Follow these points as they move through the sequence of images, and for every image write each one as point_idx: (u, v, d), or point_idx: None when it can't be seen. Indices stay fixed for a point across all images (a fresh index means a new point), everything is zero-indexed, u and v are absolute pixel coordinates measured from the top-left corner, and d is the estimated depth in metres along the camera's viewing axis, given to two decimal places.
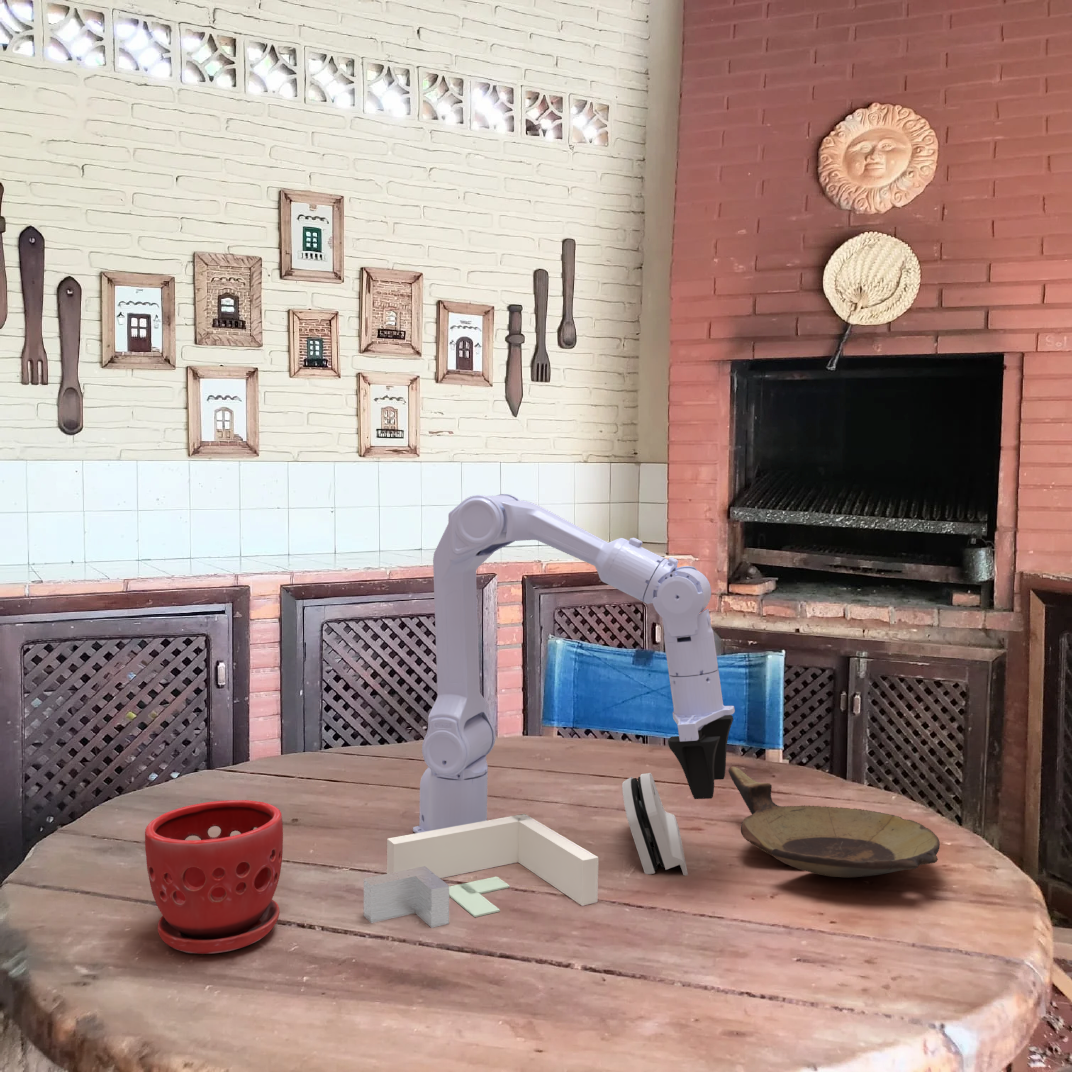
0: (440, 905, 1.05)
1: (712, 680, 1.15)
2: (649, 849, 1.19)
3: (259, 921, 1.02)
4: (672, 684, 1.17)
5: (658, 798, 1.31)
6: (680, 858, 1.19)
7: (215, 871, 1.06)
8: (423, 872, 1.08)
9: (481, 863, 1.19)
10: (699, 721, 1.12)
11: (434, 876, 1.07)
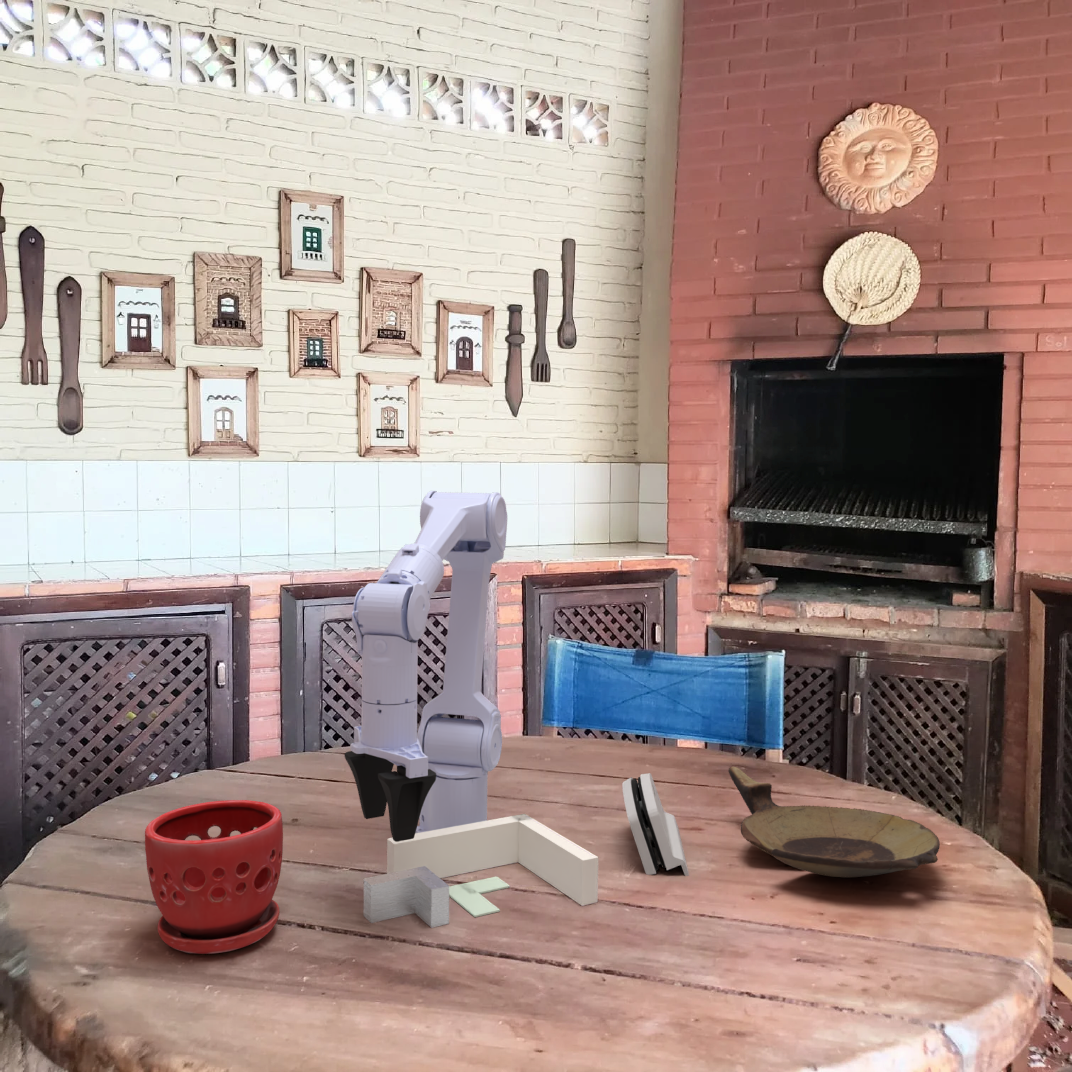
0: (440, 905, 1.05)
1: None
2: (650, 849, 1.19)
3: (259, 921, 1.02)
4: None
5: (658, 798, 1.31)
6: (681, 858, 1.19)
7: (215, 871, 1.06)
8: (423, 872, 1.08)
9: (481, 863, 1.19)
10: (357, 731, 1.10)
11: (434, 876, 1.07)
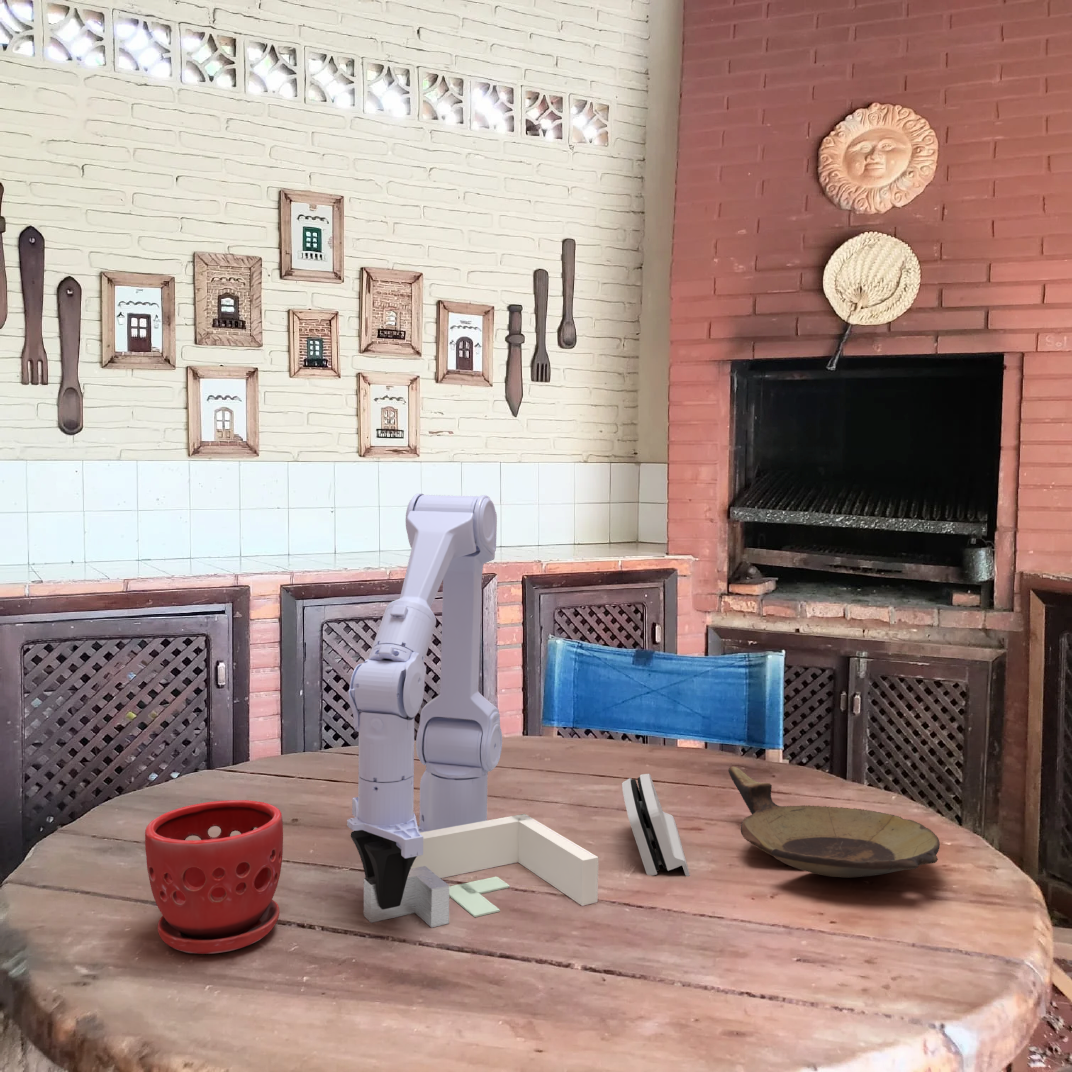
0: (440, 905, 1.05)
1: None
2: (651, 850, 1.19)
3: (259, 921, 1.02)
4: None
5: (657, 799, 1.30)
6: (682, 859, 1.19)
7: (215, 871, 1.06)
8: (423, 872, 1.08)
9: (481, 863, 1.19)
10: (355, 803, 1.11)
11: (434, 876, 1.07)
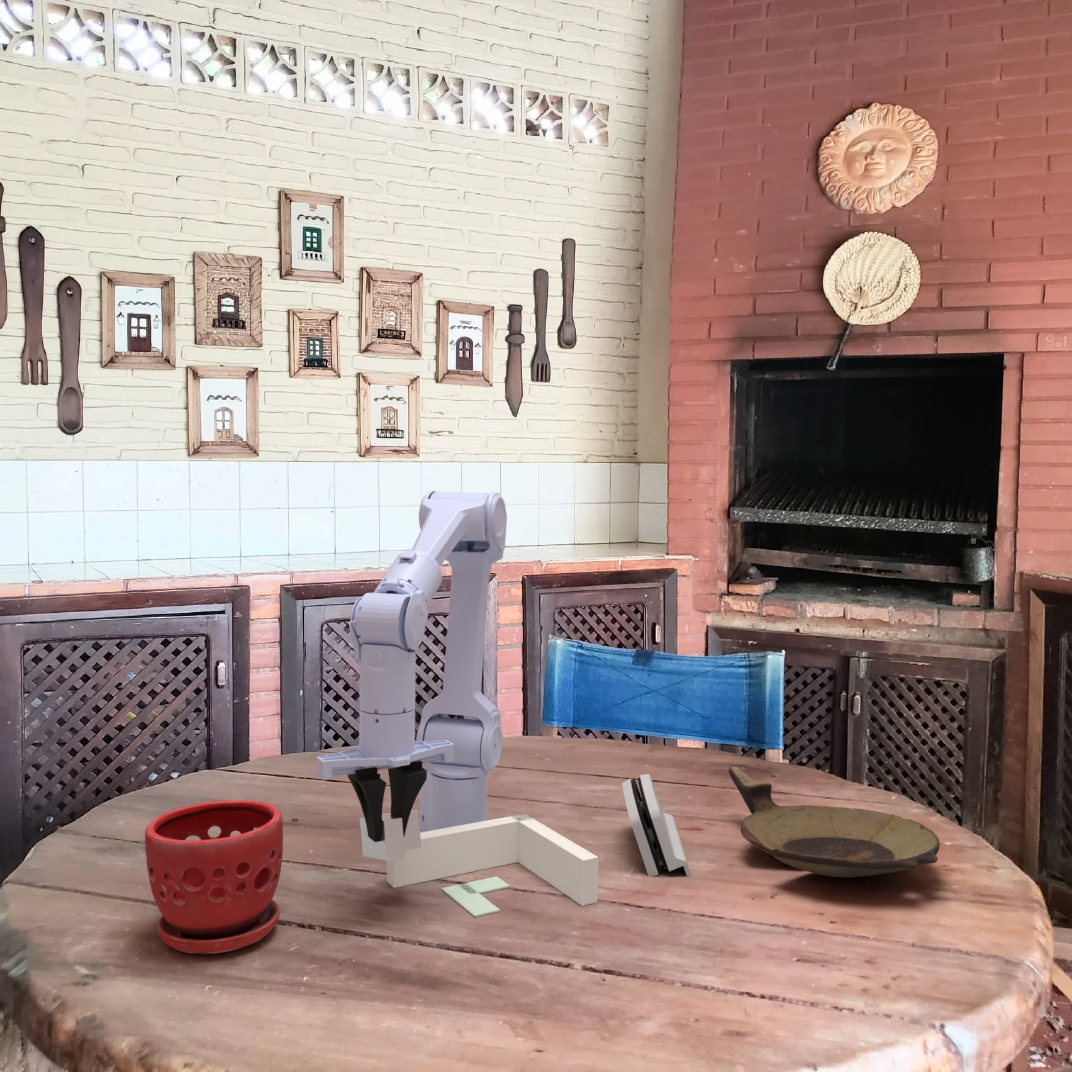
0: None
1: (381, 723, 1.03)
2: (652, 851, 1.19)
3: (259, 921, 1.02)
4: None
5: (657, 799, 1.30)
6: (683, 859, 1.19)
7: (215, 871, 1.06)
8: None
9: (481, 863, 1.19)
10: (337, 761, 1.02)
11: (386, 813, 1.12)
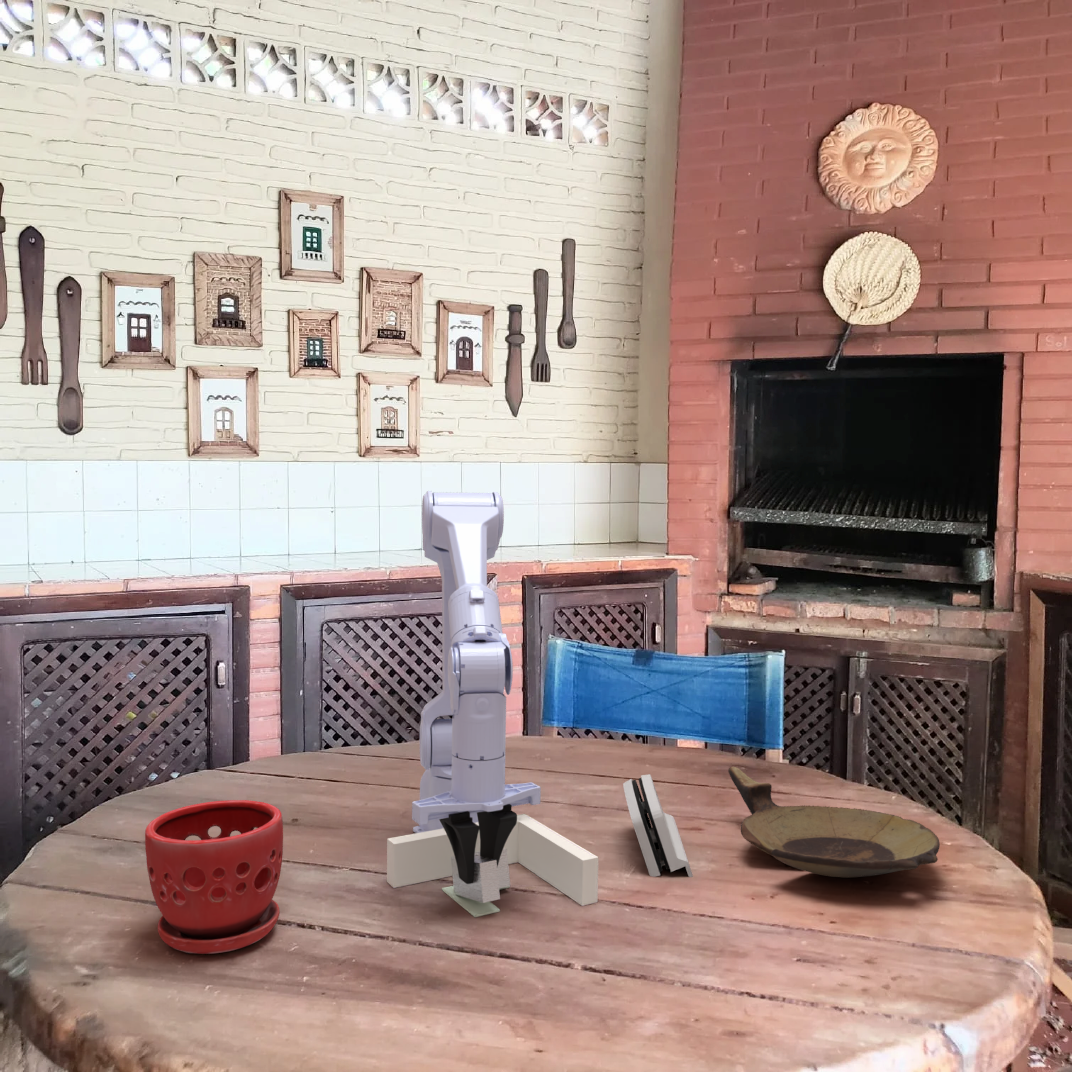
0: None
1: (475, 769, 1.06)
2: (654, 851, 1.19)
3: (259, 921, 1.02)
4: None
5: None
6: (685, 860, 1.19)
7: (215, 871, 1.06)
8: None
9: None
10: (433, 806, 1.05)
11: (476, 852, 1.14)
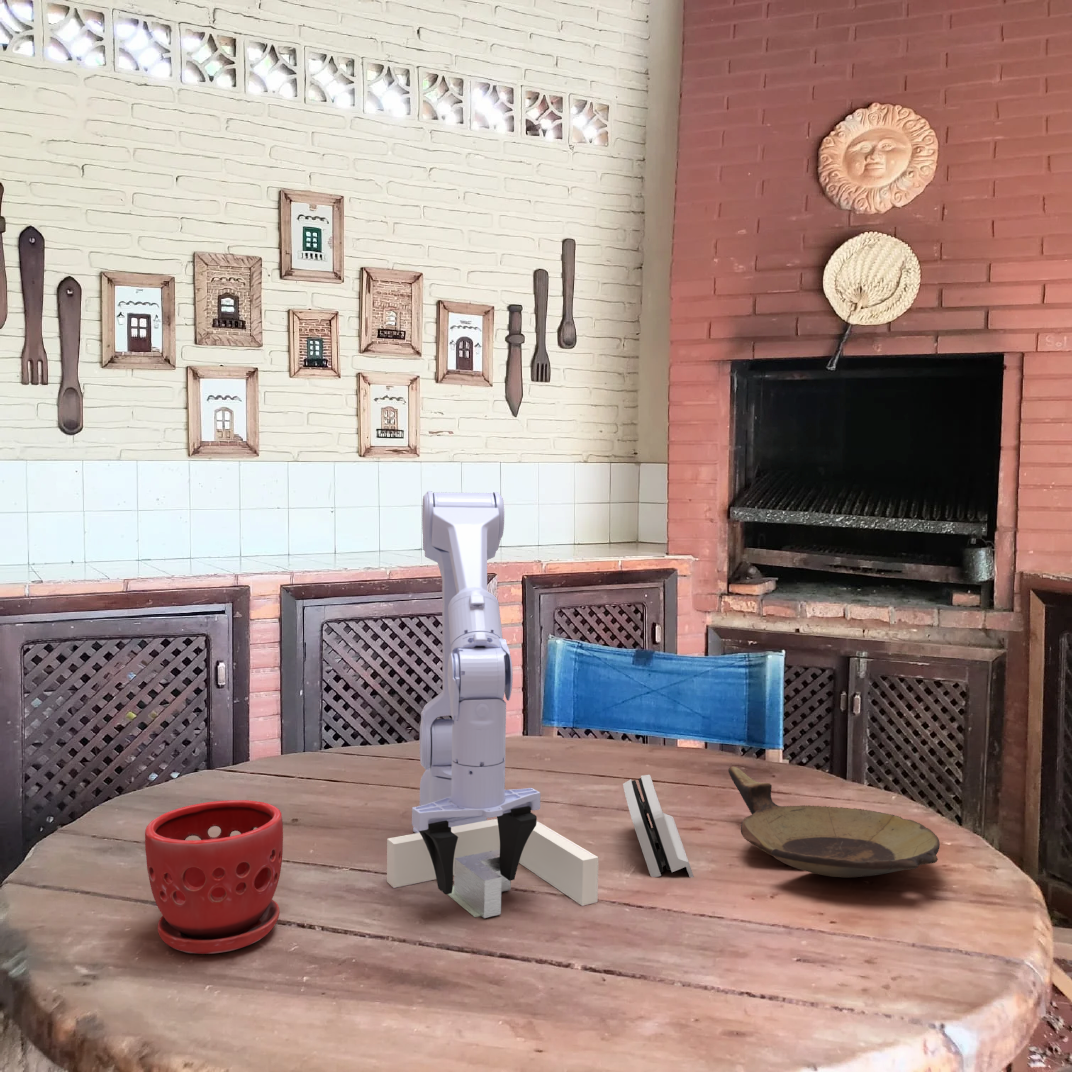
0: None
1: (475, 775, 1.06)
2: (655, 852, 1.19)
3: (259, 921, 1.02)
4: None
5: None
6: (686, 860, 1.19)
7: (215, 871, 1.06)
8: (471, 858, 1.12)
9: None
10: (433, 812, 1.05)
11: (480, 854, 1.13)
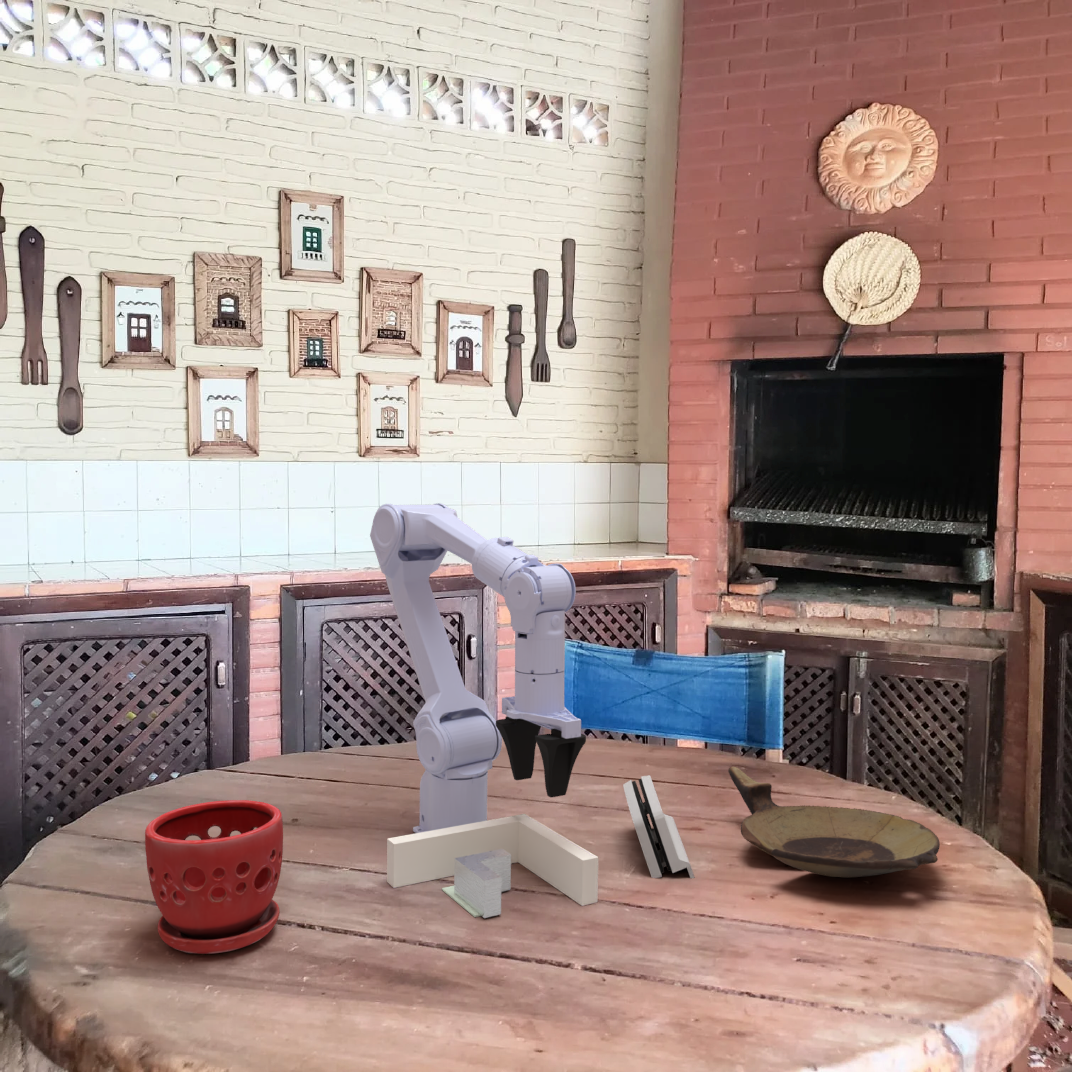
0: None
1: None
2: (656, 852, 1.18)
3: (259, 921, 1.02)
4: None
5: None
6: (687, 861, 1.18)
7: (215, 871, 1.06)
8: (471, 858, 1.12)
9: None
10: (506, 701, 1.21)
11: (480, 854, 1.13)
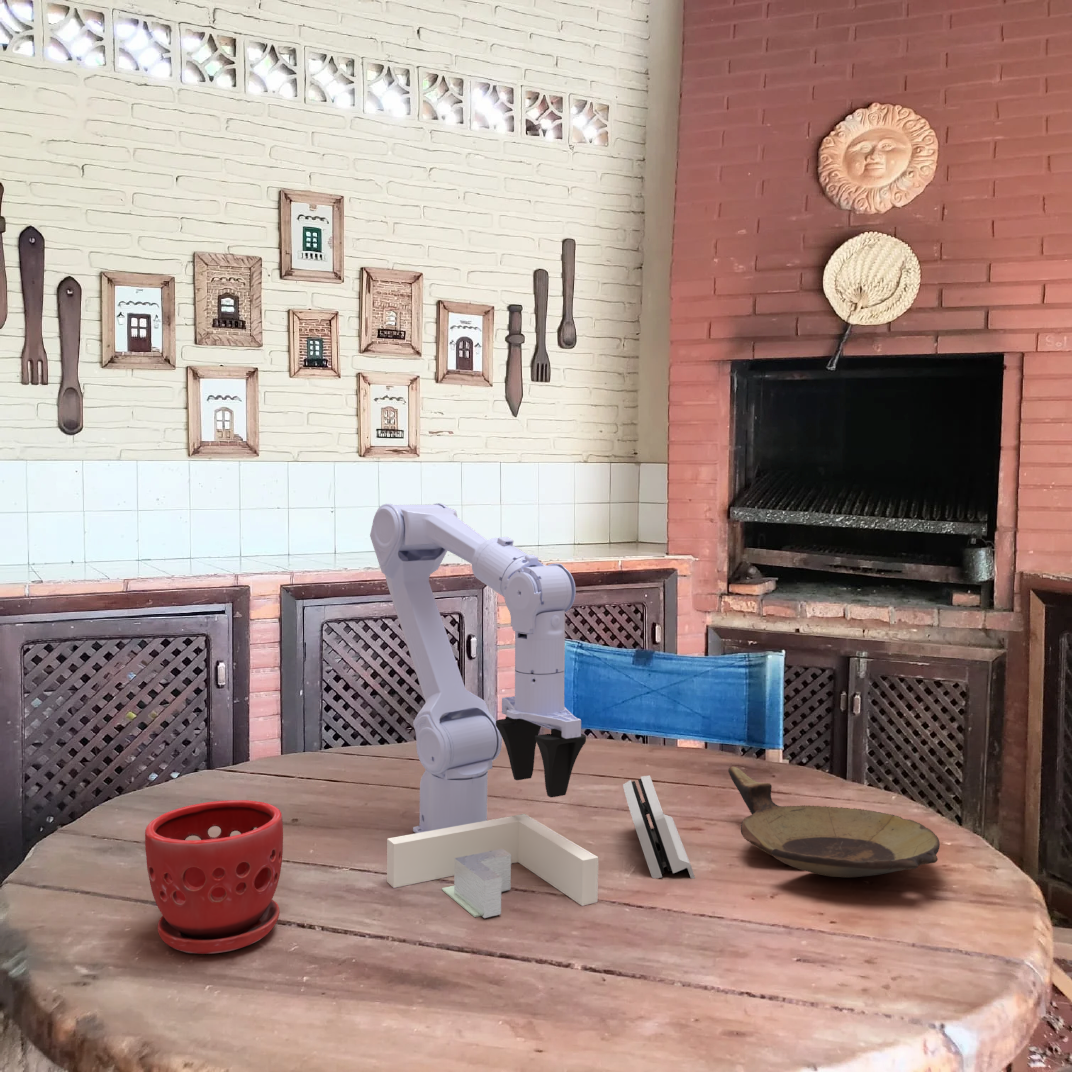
0: None
1: None
2: (656, 853, 1.18)
3: (259, 921, 1.02)
4: None
5: None
6: (687, 861, 1.18)
7: (215, 871, 1.06)
8: (471, 858, 1.12)
9: None
10: (506, 701, 1.21)
11: (480, 854, 1.13)
